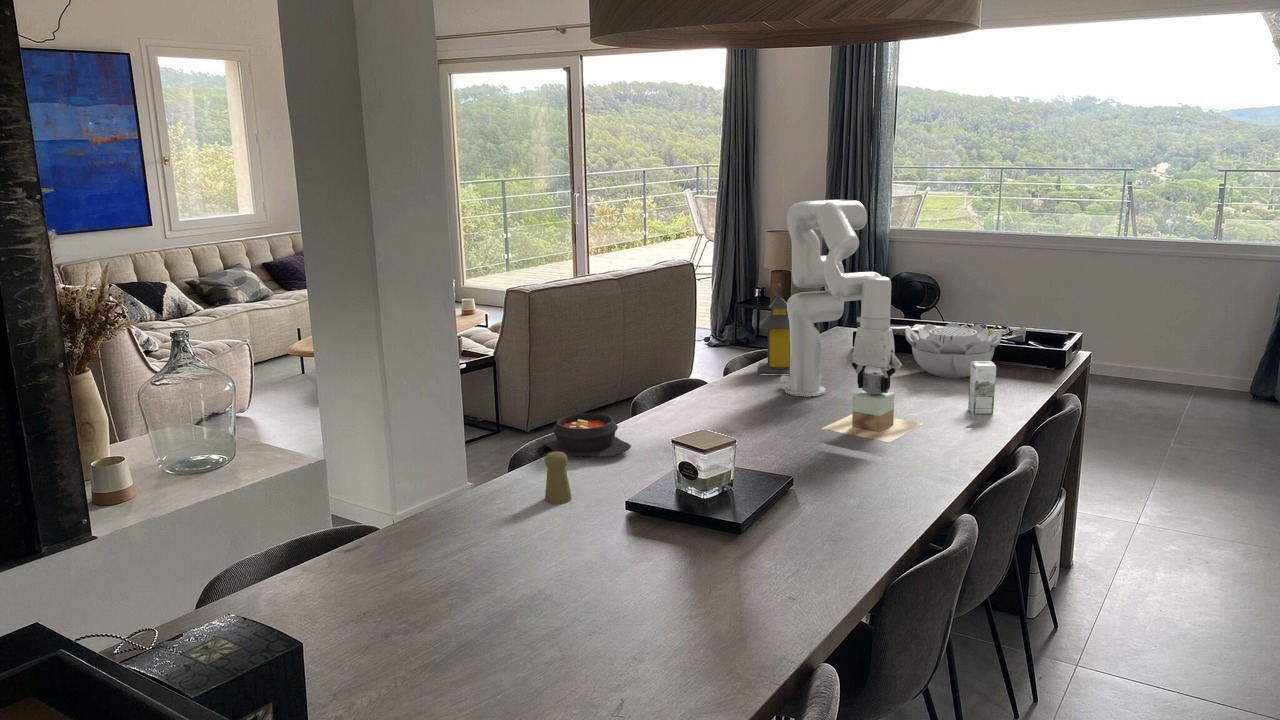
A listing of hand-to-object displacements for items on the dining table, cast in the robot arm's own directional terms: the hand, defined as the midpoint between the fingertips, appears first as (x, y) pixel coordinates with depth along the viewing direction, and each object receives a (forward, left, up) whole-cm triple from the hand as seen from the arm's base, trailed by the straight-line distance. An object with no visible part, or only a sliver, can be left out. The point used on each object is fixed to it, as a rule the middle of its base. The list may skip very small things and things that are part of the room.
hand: (873, 388), depth 252 cm
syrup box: (+16, +34, -12) cm, 39 cm away
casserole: (-52, -58, -12) cm, 79 cm away
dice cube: (0, 0, -1) cm, 1 cm away
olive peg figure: (-33, -86, -12) cm, 93 cm away
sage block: (0, 0, -6) cm, 6 cm away
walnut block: (0, 0, -10) cm, 10 cm away
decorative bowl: (-9, +69, -12) cm, 71 cm away
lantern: (-58, +43, -12) cm, 74 cm away
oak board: (0, 0, -12) cm, 12 cm away
